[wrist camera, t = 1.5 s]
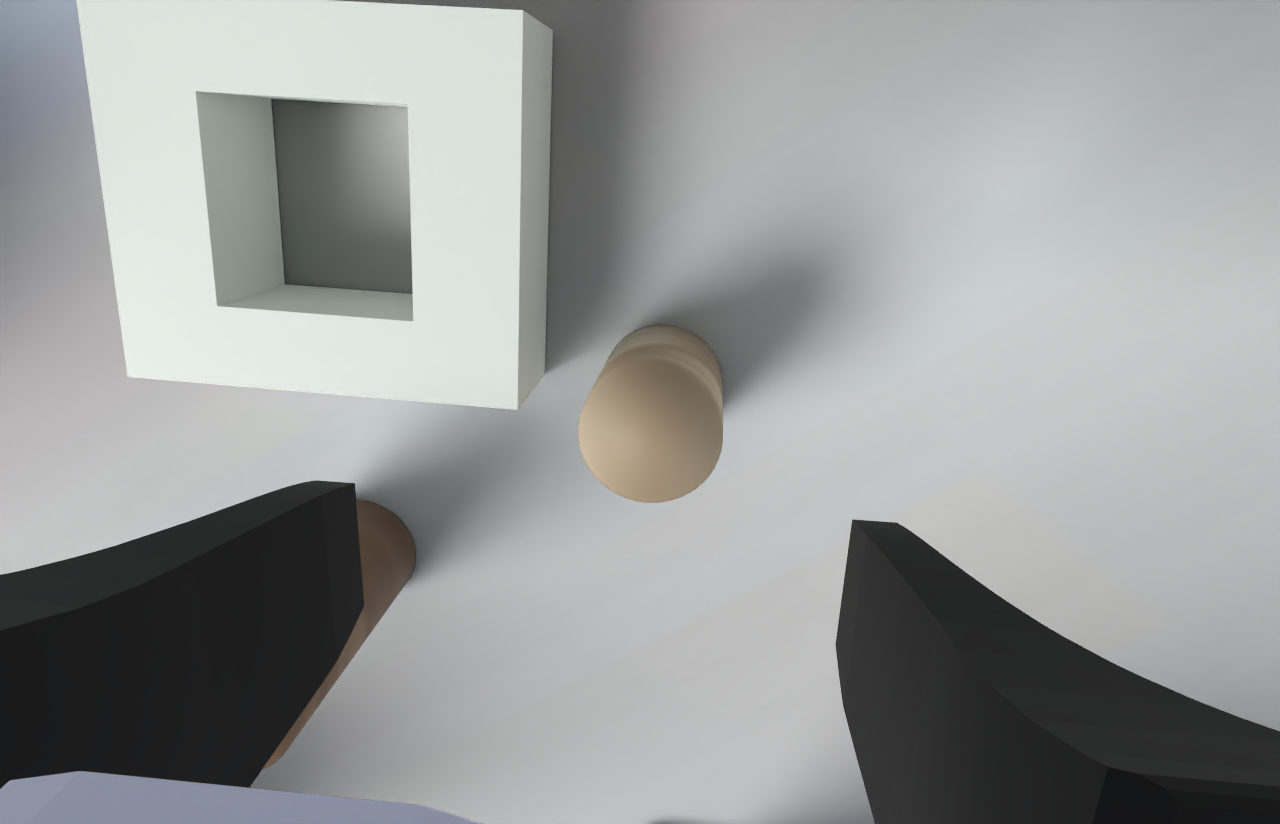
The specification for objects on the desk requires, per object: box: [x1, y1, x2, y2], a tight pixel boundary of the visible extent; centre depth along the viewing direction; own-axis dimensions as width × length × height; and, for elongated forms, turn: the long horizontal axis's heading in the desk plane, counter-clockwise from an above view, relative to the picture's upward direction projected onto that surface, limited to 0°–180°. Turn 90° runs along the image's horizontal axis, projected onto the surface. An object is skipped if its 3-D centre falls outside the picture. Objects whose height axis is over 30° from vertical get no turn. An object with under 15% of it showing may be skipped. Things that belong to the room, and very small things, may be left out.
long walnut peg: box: [263, 500, 416, 769], centre depth 20 cm, size 3×3×7 cm
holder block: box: [76, 0, 553, 410], centre depth 19 cm, size 9×8×3 cm
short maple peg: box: [578, 325, 723, 503], centre depth 19 cm, size 3×3×4 cm
